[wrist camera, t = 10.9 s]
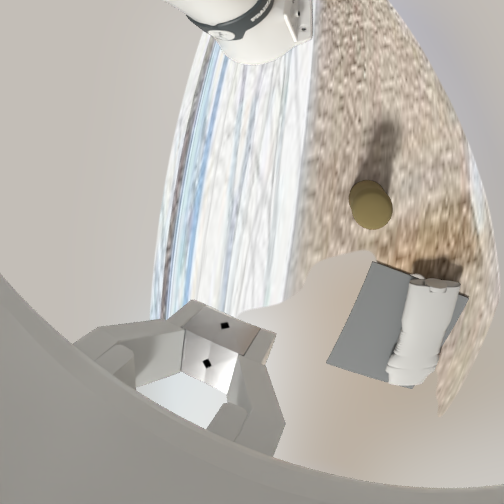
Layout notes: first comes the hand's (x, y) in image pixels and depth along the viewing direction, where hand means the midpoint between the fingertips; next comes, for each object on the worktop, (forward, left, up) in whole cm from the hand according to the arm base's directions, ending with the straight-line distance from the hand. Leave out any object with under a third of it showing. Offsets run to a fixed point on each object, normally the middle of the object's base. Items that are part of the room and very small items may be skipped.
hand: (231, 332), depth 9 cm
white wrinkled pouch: (+6, +21, -35) cm, 41 cm away
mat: (+18, +20, -37) cm, 46 cm away
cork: (-2, +6, -37) cm, 38 cm away
